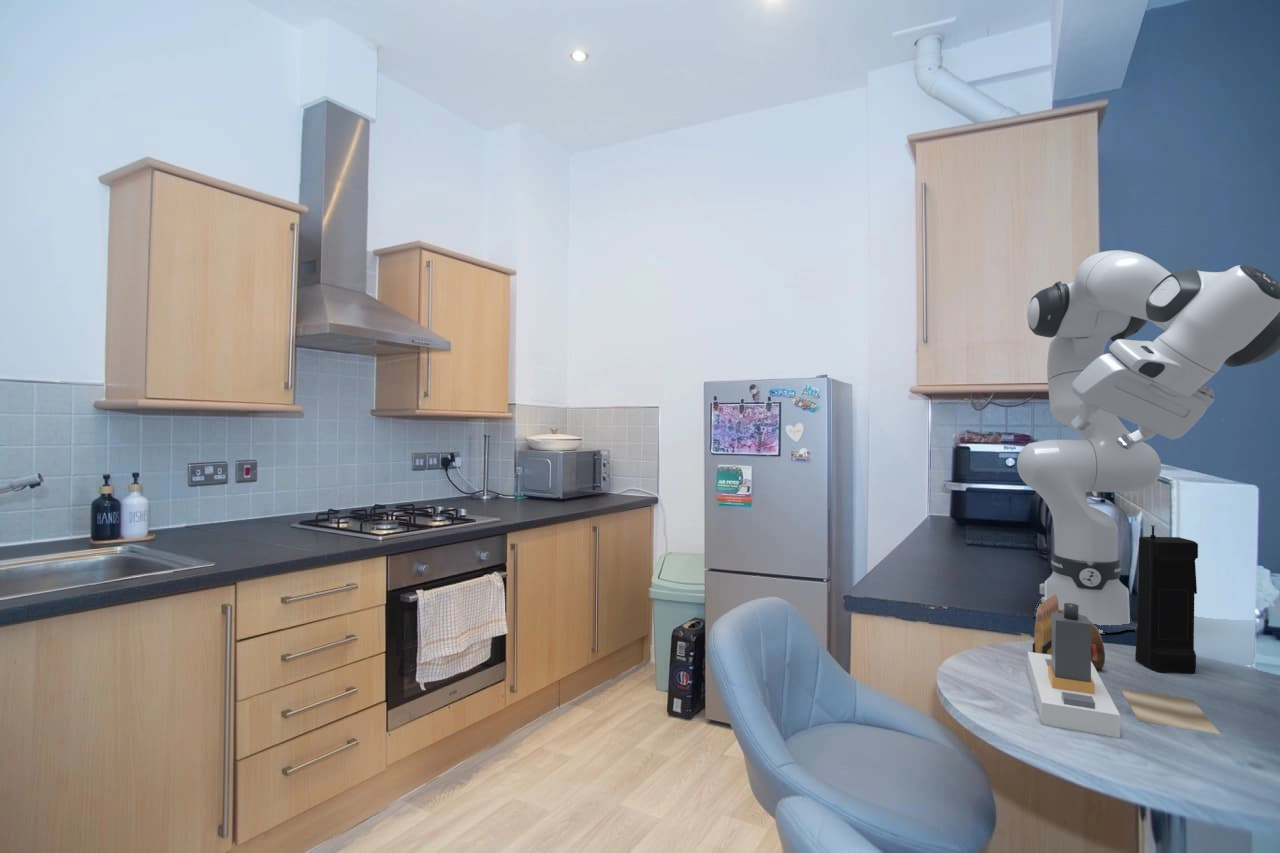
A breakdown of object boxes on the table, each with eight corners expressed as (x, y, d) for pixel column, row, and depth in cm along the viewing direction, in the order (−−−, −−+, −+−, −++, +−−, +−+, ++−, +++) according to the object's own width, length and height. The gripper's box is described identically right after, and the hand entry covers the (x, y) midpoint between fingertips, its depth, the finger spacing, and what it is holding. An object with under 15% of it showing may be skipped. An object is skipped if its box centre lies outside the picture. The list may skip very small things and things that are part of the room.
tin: (1106, 679, 110) (1107, 629, 110) (1085, 677, 111) (1086, 628, 111) (1067, 647, 125) (1068, 603, 125) (1049, 646, 126) (1049, 602, 126)
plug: (1047, 694, 102) (1048, 598, 102) (1087, 700, 100) (1088, 602, 99) (1051, 708, 97) (1052, 607, 97) (1094, 715, 95) (1095, 611, 95)
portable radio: (1178, 661, 118) (1180, 522, 118) (1204, 674, 112) (1206, 528, 112) (1132, 659, 119) (1133, 521, 119) (1154, 672, 113) (1156, 527, 113)
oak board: (1120, 695, 104) (1120, 689, 104) (1192, 706, 100) (1192, 699, 100) (1139, 727, 93) (1139, 720, 93) (1221, 741, 89) (1221, 734, 89)
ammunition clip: (1044, 676, 111) (1044, 606, 111) (1031, 673, 113) (1032, 603, 113) (1061, 660, 119) (1062, 594, 119) (1049, 657, 120) (1050, 592, 120)
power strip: (1027, 674, 112) (1027, 646, 112) (1090, 684, 108) (1090, 655, 108) (1041, 730, 92) (1042, 696, 92) (1119, 744, 88) (1120, 709, 88)
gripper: (1207, 382, 104) (1137, 445, 111) (1107, 335, 99) (1040, 404, 107) (1235, 404, 98) (1159, 469, 106) (1131, 356, 94) (1059, 427, 102)
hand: (1099, 436), depth 106 cm, fingers open, 8 cm apart
